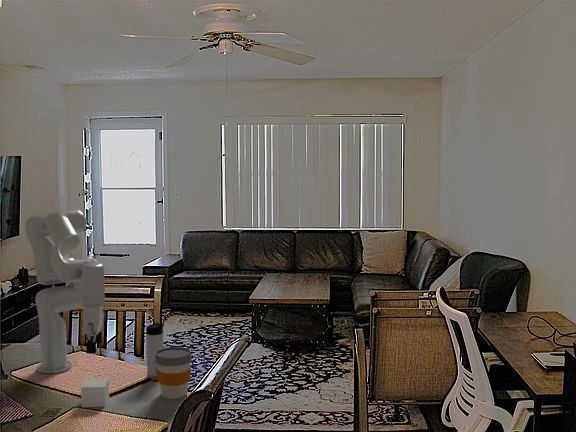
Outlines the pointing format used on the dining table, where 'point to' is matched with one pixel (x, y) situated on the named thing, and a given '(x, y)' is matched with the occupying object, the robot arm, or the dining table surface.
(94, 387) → the white block
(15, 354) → the dining table surface
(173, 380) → the reusable coffee cup
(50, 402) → the dining table surface
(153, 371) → the travel mug
